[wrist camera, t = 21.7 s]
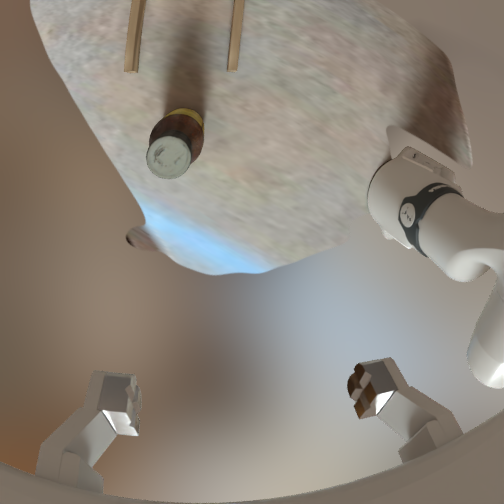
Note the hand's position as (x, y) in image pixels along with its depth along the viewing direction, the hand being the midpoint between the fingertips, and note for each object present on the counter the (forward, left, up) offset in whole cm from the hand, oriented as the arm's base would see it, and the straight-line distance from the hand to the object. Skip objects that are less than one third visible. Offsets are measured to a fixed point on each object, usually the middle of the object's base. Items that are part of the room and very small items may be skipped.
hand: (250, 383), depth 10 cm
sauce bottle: (+5, -4, -39) cm, 40 cm away
